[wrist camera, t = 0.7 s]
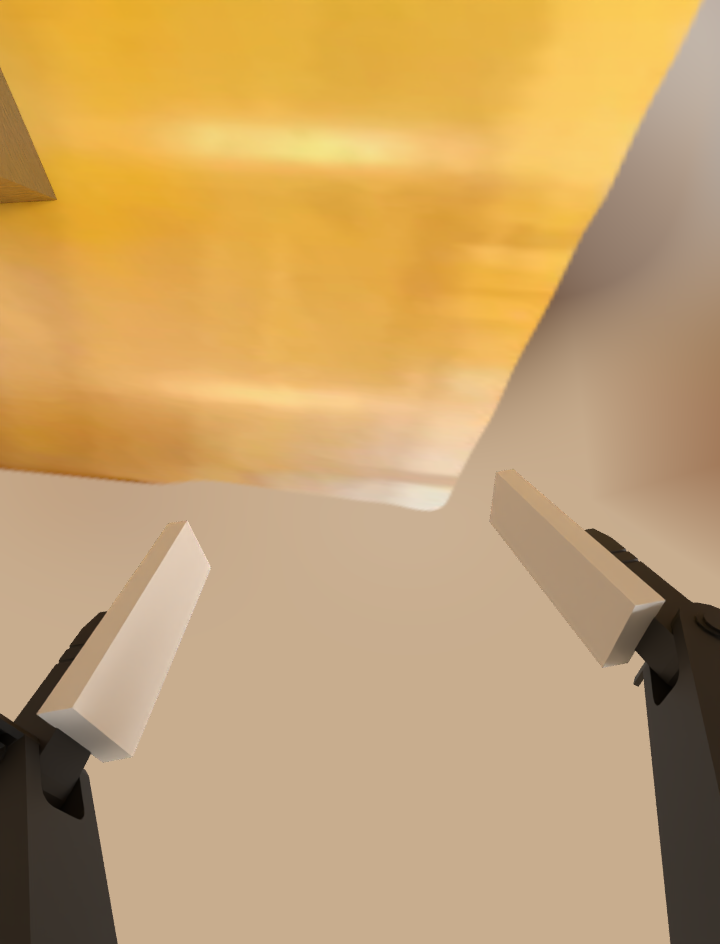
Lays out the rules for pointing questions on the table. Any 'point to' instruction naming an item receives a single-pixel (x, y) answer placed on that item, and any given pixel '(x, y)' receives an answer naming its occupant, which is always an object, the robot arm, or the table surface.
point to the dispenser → (18, 156)
